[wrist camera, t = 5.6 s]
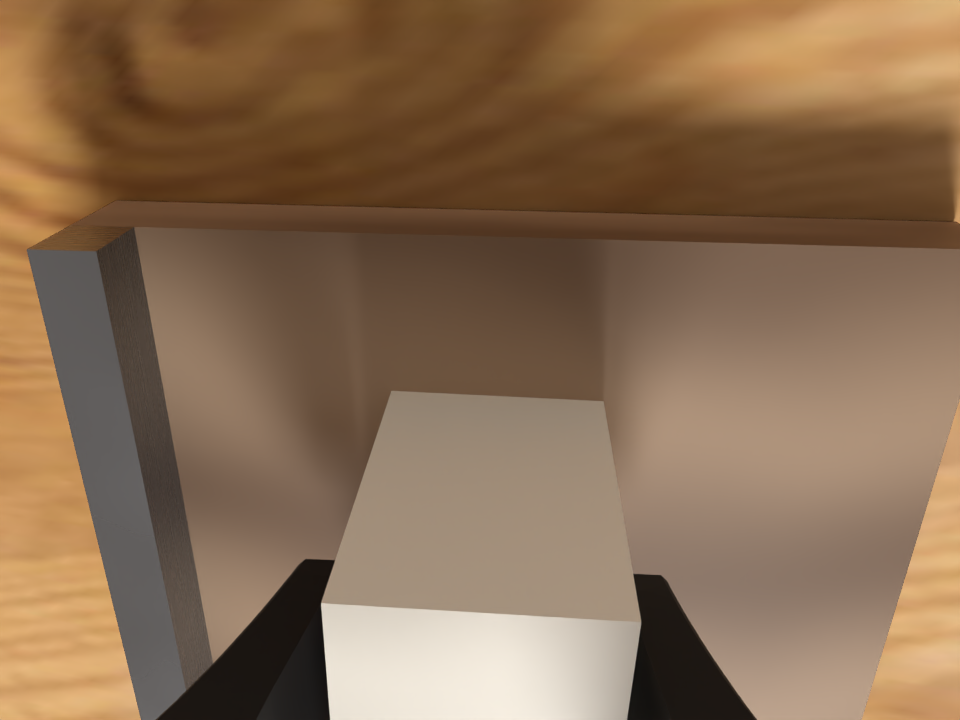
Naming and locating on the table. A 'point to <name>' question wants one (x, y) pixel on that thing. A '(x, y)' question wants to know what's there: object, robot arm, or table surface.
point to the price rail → (125, 452)
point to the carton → (484, 567)
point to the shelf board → (579, 397)
